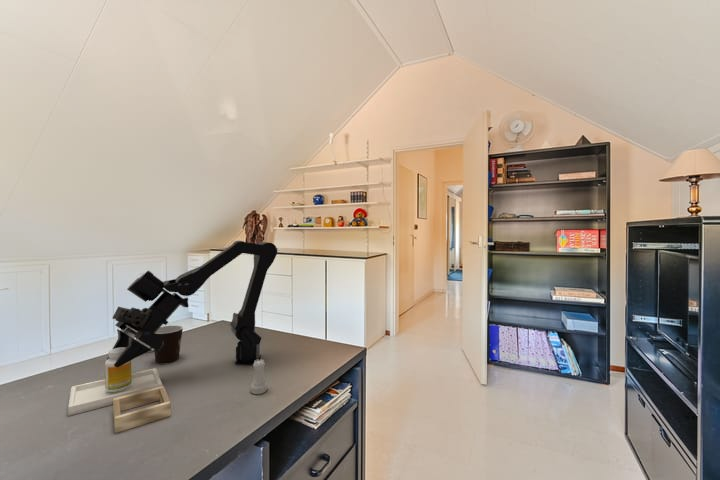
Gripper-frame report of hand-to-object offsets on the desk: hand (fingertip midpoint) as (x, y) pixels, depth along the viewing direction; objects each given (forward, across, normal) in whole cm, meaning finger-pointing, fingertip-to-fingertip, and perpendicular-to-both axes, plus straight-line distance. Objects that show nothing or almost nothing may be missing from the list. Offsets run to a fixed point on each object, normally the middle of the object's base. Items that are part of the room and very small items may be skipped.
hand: (111, 363), depth 80 cm
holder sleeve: (+5, +15, +7) cm, 17 cm away
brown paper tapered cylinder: (-7, -14, +19) cm, 25 cm away
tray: (+5, 0, +6) cm, 8 cm away
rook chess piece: (-11, +27, +24) cm, 37 cm away
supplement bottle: (+4, 0, +6) cm, 7 cm away
